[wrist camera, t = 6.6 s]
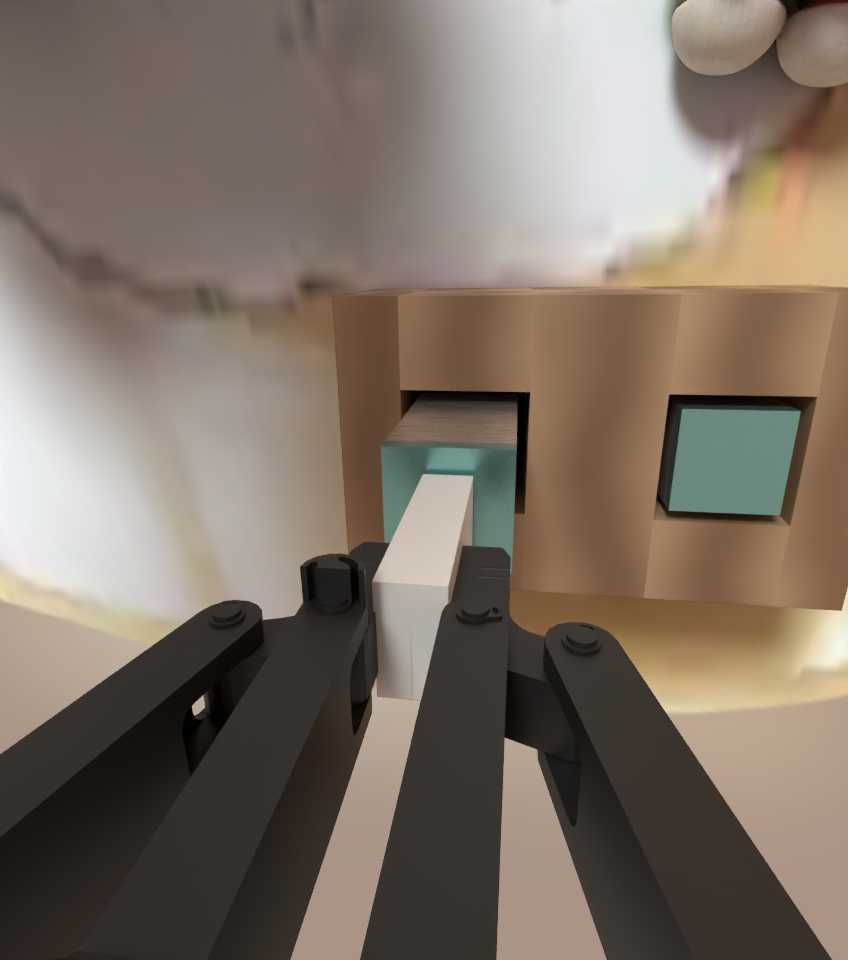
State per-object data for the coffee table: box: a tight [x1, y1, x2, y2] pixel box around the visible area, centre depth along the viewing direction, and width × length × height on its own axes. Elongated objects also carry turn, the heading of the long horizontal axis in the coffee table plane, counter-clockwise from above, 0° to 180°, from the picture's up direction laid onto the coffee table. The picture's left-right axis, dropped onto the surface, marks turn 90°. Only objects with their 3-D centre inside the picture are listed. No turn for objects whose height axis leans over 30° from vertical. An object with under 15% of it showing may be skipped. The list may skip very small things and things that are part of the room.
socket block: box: [333, 285, 848, 611], centre depth 27 cm, size 20×12×8 cm, turn 91°
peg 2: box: [657, 394, 801, 515], centre depth 26 cm, size 4×4×8 cm
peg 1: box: [381, 393, 517, 574], centre depth 22 cm, size 4×4×8 cm
